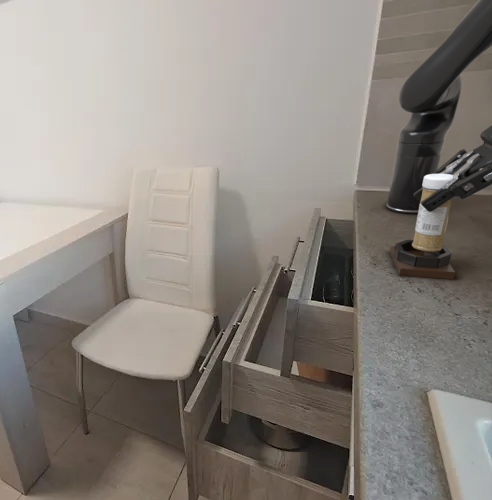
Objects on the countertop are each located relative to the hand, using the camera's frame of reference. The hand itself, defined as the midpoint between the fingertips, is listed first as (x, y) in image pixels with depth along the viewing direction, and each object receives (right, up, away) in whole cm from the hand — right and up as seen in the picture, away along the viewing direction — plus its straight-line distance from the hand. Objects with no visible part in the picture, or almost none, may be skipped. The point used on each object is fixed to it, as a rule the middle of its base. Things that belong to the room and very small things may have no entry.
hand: (421, 202), depth 66 cm
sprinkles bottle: (+3, -8, +3) cm, 9 cm away
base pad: (+3, -11, +4) cm, 12 cm away
